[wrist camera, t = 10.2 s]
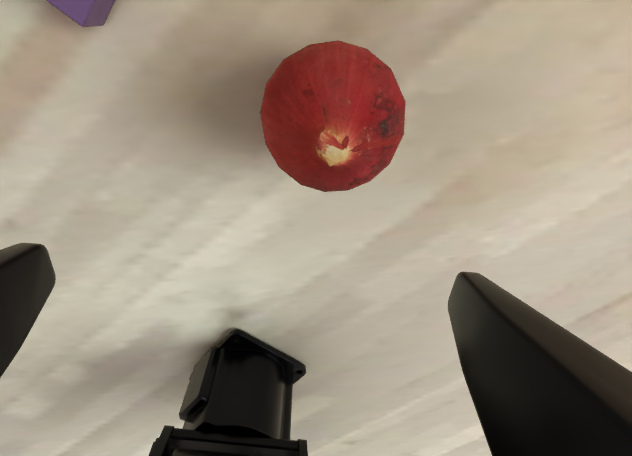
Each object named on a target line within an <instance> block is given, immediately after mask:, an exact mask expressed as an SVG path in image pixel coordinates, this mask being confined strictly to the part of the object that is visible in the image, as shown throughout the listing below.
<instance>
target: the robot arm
mask: <svg viewBox="0 0 632 456" xmlns="http://www.w3.org/2000/svg"><path fill="white" fill-rule="evenodd" d="M55 280H56V278H55V272H54V269H53V266H52V263H51V260H50V257H49V254H48V251H47V249H46V247H45V246H44V245H42V244H33V243H19V244H16V245H13V246H10V247H7V248H5V249H2V250H0V377H1V376H2V375H3V373H4V372H5V370H6V369H7V367H8V366H9V364H10V363H11V361H12V360H13V358H14V357H15V355H16V354H17V352H18V351H19V349H20V347H21V346H22V344H23V342H24V341H25V339H26V337H27V335H28V333H29V332H30V330H31V328H32V326H33V324H34V322H35V321H36V319H37V317H38V315H39V313H40V311H41V310H42V308H43V306H44V304H45V302H46V300H47V298H48V297H49V295H50V293H51V291H52V289H53V287H54V285H55ZM448 311H449V316H450V320H451V324H452V329H453V333H454V337H455V342H456V346H457V350H458V355H459V359H460V363H461V367H462V371H463V374H464V377H465V380H466V383H467V386H468V388H469V391H470V394H471V397H472V400H473V403H474V406H475V408H476V411H477V414H478V417H479V420H480V423H481V425H482V428H483V431H484V434H485V437H486V440H487V442H488V445H489V448H490V451H491V454H492V456H632V372H631V371H629V370H628V369H626V368H624V367H623V366H621V365H620V364H618V363H617V362H615V361H614V360H612V359H611V358H609V357H607V356H606V355H604V354H603V353H601V352H600V351H598V350H597V349H595V348H594V347H592V346H590V345H589V344H587V343H586V342H584V341H583V340H581V339H580V338H578V337H577V336H575V335H573V334H572V333H570V332H569V331H567V330H566V329H564V328H563V327H561V326H560V325H558V324H556V323H555V322H553V321H552V320H550V319H549V318H547V317H546V316H544V315H543V314H541V313H539V312H538V311H536V310H535V309H533V308H532V307H530V306H529V305H527V304H526V303H524V302H522V301H521V300H519V299H518V298H516V297H515V296H513V295H512V294H510V293H509V292H507V291H505V290H504V289H502V288H501V287H499V286H498V285H496V284H495V283H493V282H492V281H490V280H488V279H487V278H485V277H484V276H482V275H481V274H479V273H474V272H460V273H459V274H458V275H457V277H456V279H455V282H454V285H453V288H452V291H451V294H450V297H449V300H448ZM236 336H237V337H236ZM305 373H306V366H305V365H304V364H302V363H300V362H299V361H297V360H295V359H293V358H291V357H289V356H287V355H286V354H284V353H282V352H280V351H278V350H276V349H275V348H273V347H271V346H269V345H267V344H265V343H263V342H262V341H260V340H258V339H256V338H254V337H252V336H250V335H249V334H247V333H245V332H243V331H241V330H233V331H232V332H231V333H230V334H229V335H228V336H227V337H226V338H225V339H224V340H223V341H222V342H221V343H220V344H219V345H218V346H217V347H213V348H211V349H210V350H209V351H208V352H207V353H206V354H205V355H204V356H203V358H202V359H201V360H200V361H199V362H198V363H197V364H196V365H195V366H194V369H193V372H192V373H191V376H190V381H189V385H188V388H187V391H186V394H185V397H184V400H183V403H182V406H181V409H180V412H179V417H180V419H181V420H184V421H185V422H184V426H183V429H179V428H174V426H166V425H165V426H164V428H163V431H162V433H161V435H160V437H159V438H157V439H156V441H155V442H153V445H152V448H151V451H150V453H149V456H308V452H307V440H301V439H298V441H295V440H290V428H291V408H292V387H293V384H294V383H295V382H296V381H298V380H299V379H300V378H301V377H302V376H304V375H305Z"/></svg>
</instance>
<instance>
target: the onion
mask: <svg viewBox="0 0 632 456" xmlns="http://www.w3.org/2000/svg"><path fill="white" fill-rule="evenodd" d="M260 114H261V120H262V126H263V132H264V138H265V143H266V145H267V147H268V149H269V151H270V152H271V154H272V156H273V158H274V159H275V161H276V163H277V165H278V167H280V168H281V169H282V170H283V171H284V172H286V173H287V174H288V175H289V176H291V177H292V178H293V179H294V180H296V181H297V182H298V183H299V184H301V185H304V186H307V187H310V188H314V189H317V190H320V191H324V192H328V191H345V190H350V189H353V188H355V187H357V186H360V185H362V184H364V183H367V182H369V181H371V180H372V179H373V178H374V177H375V176H376V175H378V174H379V173H380V172H381V171H382V170H383V169H384V168H385V167H387V166H388V165H389V164H390V162H391V160H392V158H393V156H394V153H395V151H396V149H397V147H398V145H399V143H400V141H401V139H402V137H403V135H404V121H405V100H404V97H403V95H402V93H401V91H400V88H399V86H398V84H397V81H396V79H395V77H394V75H393V72H392V70H391V69H390V68H389V67H388V66H387V65H386V64H384V63H383V62H382V61H381V60H380V59H378V58H377V57H376V56H375V55H374V54H372V53H371V52H370V51H369V50H367V49H365V48H362V47H359V46H355V45H352V44H348V43H345V42H342V41H332V42H325V43H318V44H311V45H308V46H306V47H305V48H303V49H301V50H299V51H298V52H296V53H294V54H292V55H291V56H289V57H287V58H286V59H284V60H283V61H282V62H281V64H280V65H279V67H278V68H277V70H276V71H275V72H274V74H273V75H272V77H271V78H270V79H269V81H268V82H267V84H266V87H265V92H264V97H263V102H262V106H261V111H260Z"/></svg>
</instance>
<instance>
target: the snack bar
mask: <svg viewBox="0 0 632 456" xmlns="http://www.w3.org/2000/svg"><path fill="white" fill-rule="evenodd" d="M46 1H48V2H49V3H50V4H52V5H53V6H55V7H56V8H57V9H59V10H60V11H61V12H63V13H64V14H65V15H67V16H68V17H70V18H71V19H72V20H74V21H75V22H76V23H78V24H79V25H80V26H82V27H89V26H101V25H104V22H105V20H106V18H107V16H108V14H109V12H110V10H111V8H112V6H113V3H114V1H115V0H46Z"/></svg>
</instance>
